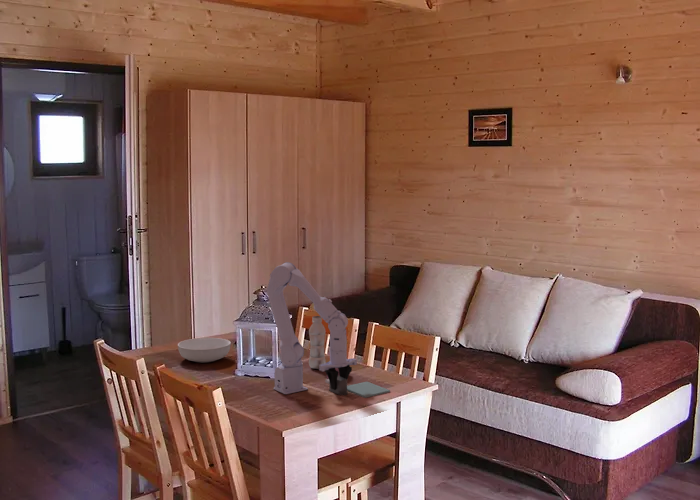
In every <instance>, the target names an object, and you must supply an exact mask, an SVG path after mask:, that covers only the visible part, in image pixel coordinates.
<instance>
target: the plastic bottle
mask: <svg viewBox="0 0 700 500" xmlns="http://www.w3.org/2000/svg"><path fill="white" fill-rule="evenodd" d="M322 322H323V318H322V317H321V316H320V315H314V316H312V320H311V323H312V324H311V325H310V326H309V329H308V336H309V341H310V342H309V345H310V350H309V357H308V358H309V359H308V365H309V367H310V368H311V369H314V370H315V369H316V370H319V365H321V364H324V363H327V362H326V356H325V338H326V332H327V331H326V327H325V326H324V324H323V323H322Z"/></svg>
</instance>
